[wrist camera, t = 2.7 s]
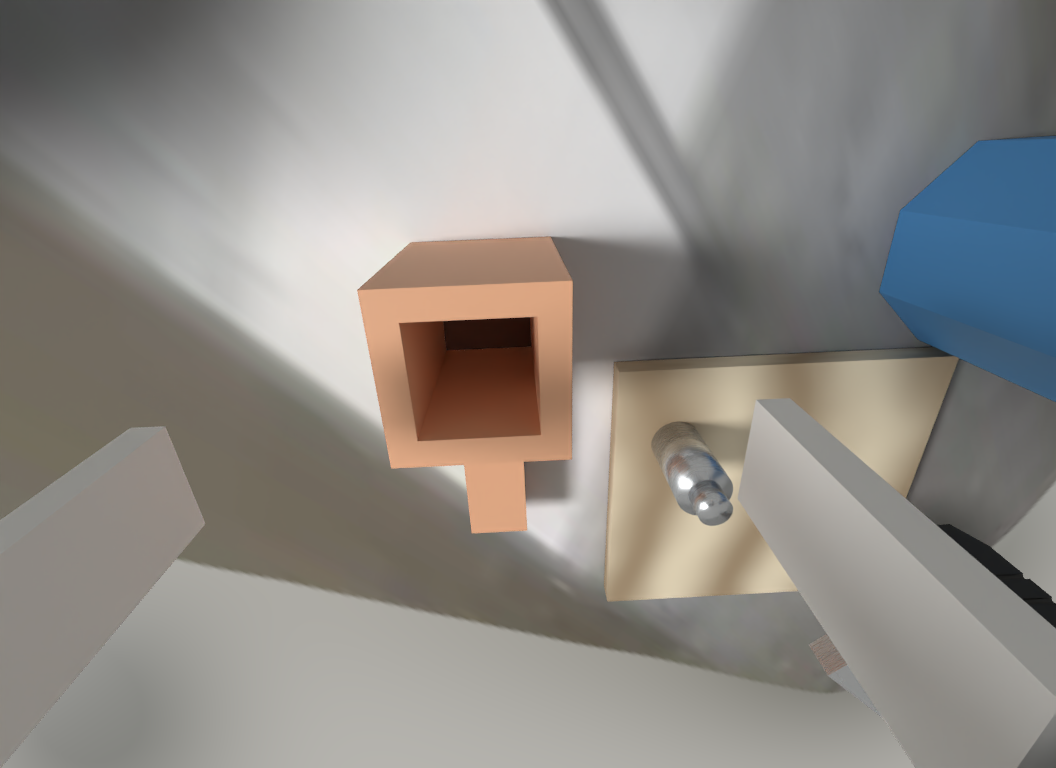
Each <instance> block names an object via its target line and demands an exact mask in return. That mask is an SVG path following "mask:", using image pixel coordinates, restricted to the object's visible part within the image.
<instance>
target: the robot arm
mask: <svg viewBox="0 0 1056 768" xmlns="http://www.w3.org/2000/svg"><path fill="white" fill-rule="evenodd" d="M737 499H738V500H739V502H740V503H741V505H742V506H743V508H744V509H745V511H746V512H747V514H748V515H749V517H750V518H751V520H752V521H753V523H754V524H755V526H756V527H757V529H758V530H759V532H760V533H761V535H762V536H763V538H764V539H765V541H766V542H767V544H768V545H769V547H770V549H771V550H772V552H773V553H774V555H775V556H776V558H777V559H778V561H779V562H780V564H781V565H782V567H783V568H784V570H785V571H786V573H787V574H788V576H789V577H790V579H791V580H792V582H793V583H794V585H795V586H796V588H797V589H798V591H799V592H800V594H801V595H802V597H803V598H804V600H805V601H806V603H807V604H808V606H809V608H810V609H811V611H812V612H813V614H814V615H815V617H816V618H817V620H818V621H819V623H820V624H821V626H822V627H823V629H824V630H825V632H826V633H827V635H828V636H829V638H830V639H831V641H832V642H833V644H834V645H835V647H836V648H837V650H838V651H839V653H840V654H841V656H842V657H843V659H844V660H845V662H846V663H847V665H848V667H849V668H850V670H851V671H852V673H853V674H854V676H855V677H856V679H857V680H858V682H859V683H860V685H861V686H862V688H863V689H864V691H865V692H866V694H867V695H868V697H869V698H870V700H871V701H872V703H873V704H874V706H875V707H876V709H877V710H878V712H879V713H880V715H881V716H882V718H883V719H884V721H885V722H886V724H887V725H888V727H889V728H890V730H891V731H892V733H893V735H894V736H895V738H896V739H897V741H898V742H899V744H900V745H901V747H902V748H903V750H904V751H905V753H906V754H907V756H908V757H909V759H910V760H911V762H912V763H913V765H914V766H915V768H1056V603H1054V602H1053V601H1052V599H1051V598H1052V597H1051V596H1050V595H1049V594H1047V593H1046V592H1045V591H1044V590H1042V589H1041V588H1040V587H1039V586H1037V585H1036V584H1035V583H1034V582H1033V581H1031V580H1030V579H1024V577H1023V573H1022V572H1020V571H1019V570H1018V569H1017V568H1015V567H1014V566H1013V565H1012V564H1010V563H1009V562H1008V561H1007V560H1005V559H1004V558H1003V557H1002V556H1001V555H999V554H998V553H997V552H996V551H994V550H993V549H992V548H991V547H990V546H988V545H986V544H984V543H983V542H981V541H979V540H977V539H975V538H973V537H972V536H970V535H968V534H966V533H964V532H963V531H961V530H959V529H957V528H955V527H953V526H952V525H950V524H946V525H936V524H935V523H933V522H932V521H931V520H930V519H929V518H928V517H926V516H925V515H924V514H923V513H922V512H921V511H920V510H918V509H917V508H916V507H915V506H914V505H913V504H911V503H910V502H909V501H908V500H907V499H906V498H905V497H903V496H902V495H901V494H900V493H899V492H898V491H896V490H895V489H894V488H893V487H892V486H891V485H890V484H888V483H887V482H886V481H885V480H884V479H883V478H881V477H880V476H879V475H878V474H877V473H876V472H875V471H873V470H872V469H871V468H870V467H869V466H868V465H866V464H865V463H864V462H863V461H862V460H861V459H860V458H858V457H857V456H856V455H855V454H854V453H853V452H851V451H850V450H849V449H848V448H847V447H846V446H844V445H843V444H842V443H841V442H840V441H839V440H838V439H836V438H835V437H834V436H833V435H832V434H831V433H829V432H828V431H827V430H826V429H825V428H824V427H823V426H821V425H820V424H819V423H818V422H817V421H816V420H814V419H813V418H812V417H811V416H810V415H809V414H808V413H806V412H805V411H804V410H803V409H802V408H801V407H799V406H798V405H797V404H796V403H795V402H794V401H793V400H791V399H790V398H782V399H760V400H756V402H755V407H754V413H753V418H752V423H751V429H750V434H749V439H748V445H747V450H746V455H745V461H744V466H743V471H742V477H741V482H740V487H739V493H738V498H737ZM204 525H205V522H204V519H203V517H202V515H201V512H200V510H199V507H198V505H197V502H196V500H195V498H194V495H193V493H192V490H191V488H190V485H189V483H188V481H187V478H186V476H185V473H184V471H183V468H182V466H181V464H180V461H179V459H178V456H177V454H176V451H175V449H174V447H173V444H172V442H171V439H170V437H169V434H168V432H167V430H166V427H165V426H164V427H142V428H130V429H128V430H127V431H125V432H124V433H123V434H121V435H120V436H118V437H117V438H115V439H114V440H113V441H111V442H110V443H108V444H107V445H106V446H104V447H103V448H101V449H100V450H99V451H97V452H96V453H94V454H93V455H91V456H90V457H89V458H87V459H86V460H84V461H83V462H82V463H80V464H79V465H77V466H76V467H75V468H73V469H72V470H70V471H69V472H67V473H66V474H65V475H63V476H62V477H60V478H59V479H58V480H56V481H55V482H53V483H52V484H51V485H49V486H48V487H46V488H45V489H44V490H42V491H41V492H39V493H38V494H36V495H35V496H34V497H32V498H31V499H29V500H28V501H27V502H25V503H24V504H22V505H21V506H20V507H18V508H17V509H15V510H14V511H12V512H11V513H10V514H8V515H7V516H5V517H4V518H3V519H1V520H0V768H1V767H2V766H3V764H5V763H6V761H7V760H8V759H9V758H10V756H11V755H12V754H13V753H14V752H15V751H16V749H17V748H18V747H19V746H20V745H21V743H22V742H23V741H24V740H25V739H26V737H27V736H28V735H29V734H30V733H31V731H32V730H33V729H34V728H35V727H36V726H37V724H38V723H39V722H40V721H41V719H42V718H43V717H44V716H45V715H46V714H47V712H48V711H49V710H50V709H51V708H52V706H53V705H54V704H55V703H56V702H57V700H58V699H59V698H60V697H61V696H62V695H63V693H64V692H65V691H66V690H67V689H68V687H69V686H70V685H71V684H72V683H73V681H74V680H75V679H76V678H77V676H78V675H79V674H80V673H81V672H82V671H83V669H84V668H85V667H86V666H87V665H88V663H89V662H90V661H91V660H92V659H93V657H94V656H95V655H96V654H97V653H98V651H99V650H100V649H101V648H102V647H103V646H104V644H105V643H106V642H107V641H108V640H109V638H110V637H111V636H112V635H113V634H114V632H115V631H116V630H117V629H118V628H119V626H120V625H121V624H122V623H123V622H124V620H125V619H126V618H127V617H128V615H129V614H130V613H131V612H132V611H133V610H134V608H135V607H136V606H137V605H138V604H139V603H140V601H141V600H142V599H143V598H144V596H145V595H146V594H147V593H148V592H149V590H150V589H151V588H152V587H153V586H154V584H155V583H156V582H157V581H158V580H159V579H160V577H161V576H162V575H163V574H164V573H165V571H166V570H167V569H168V568H169V567H170V566H171V564H172V563H173V562H174V561H175V560H176V558H177V557H178V556H179V555H180V554H181V552H182V551H183V550H184V549H185V548H186V546H187V545H188V544H189V543H190V542H191V540H192V539H193V538H194V537H195V536H196V534H197V533H198V532H199V531H200V530H201V528H202V527H203V526H204Z"/></svg>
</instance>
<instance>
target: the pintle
mask: <svg viewBox="0 0 1056 768" xmlns="http://www.w3.org/2000/svg"><path fill="white" fill-rule="evenodd" d="M651 447H652V451H653V453H654V455H655V457H656V459H657V461H658V463H659V466H660V468H661V470H662V472H663V474H664V476H665V478H666V480H667V482H668V484H669V486H670V488H671V490H672V492H673V495H674V497H675V499H676V501H677V503H678V505H679V506H680V508H681V509H682V510H683V511H685V512H686V513H689V514H692V515H697V516H698V518H699V519H700V521H701V522H702V523H703V524H705V525H709V526H716V525H720V524H722V523H724V522H726V521H727V520H728V519H729V518H730V517H731V515H732V513H733V506H732V504H731V502H730V501H729V500H730V498H731V496H732V493H733V484H732V481H731V480H730V478H729V477H728V475H727V474H726V472H725V471H724V469H723V468H722V466H721V465H720V463H719V462H718V460H717V459H716V457H715V456H714V455H713V453H712V452H711V450H710V449H709V447H708V446H707V444H706V443H705V441H704V440H703V438H702V437H701V435H700V434H699V433H698V431H697V430H696V428H695V427H694V426H692V425H691V424H689V423H686V422H672V423H669V424H666V425H664V426H663V427H661V428H660V429H659V430H658V431H657V432H656V433H655V435H654V437H653V439H652V443H651Z"/></svg>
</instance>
